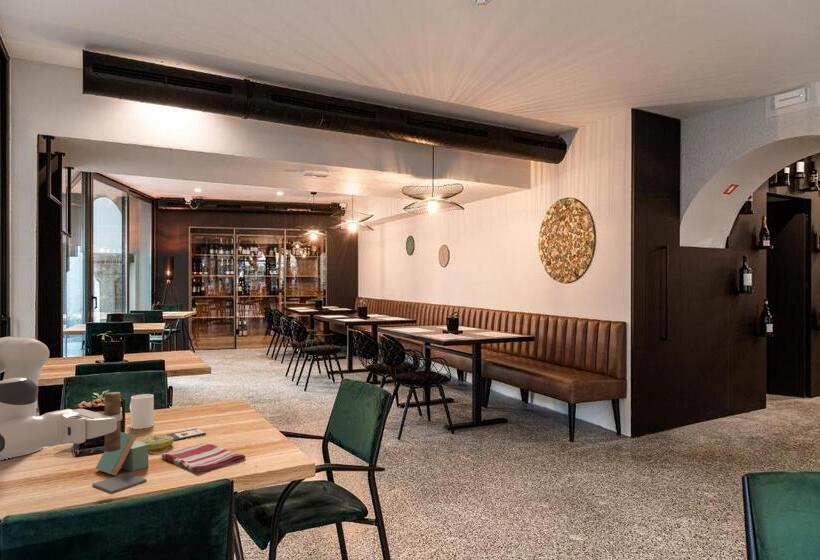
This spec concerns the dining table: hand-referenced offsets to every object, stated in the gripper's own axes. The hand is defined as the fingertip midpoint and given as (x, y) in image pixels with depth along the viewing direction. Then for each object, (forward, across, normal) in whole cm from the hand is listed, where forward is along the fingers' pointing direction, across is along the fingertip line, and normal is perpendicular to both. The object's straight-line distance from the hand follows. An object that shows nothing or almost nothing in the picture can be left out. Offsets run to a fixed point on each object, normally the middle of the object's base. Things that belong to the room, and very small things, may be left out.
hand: (115, 415), depth 153 cm
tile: (+2, -10, -19) cm, 22 cm away
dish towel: (+26, +3, -20) cm, 33 cm away
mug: (+37, -53, -20) cm, 67 cm away
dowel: (-1, 0, -10) cm, 10 cm away
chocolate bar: (+36, -26, -20) cm, 49 cm away
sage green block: (+10, -11, -20) cm, 24 cm away
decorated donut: (+25, -21, -20) cm, 38 cm away
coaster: (0, +1, -20) cm, 20 cm away
